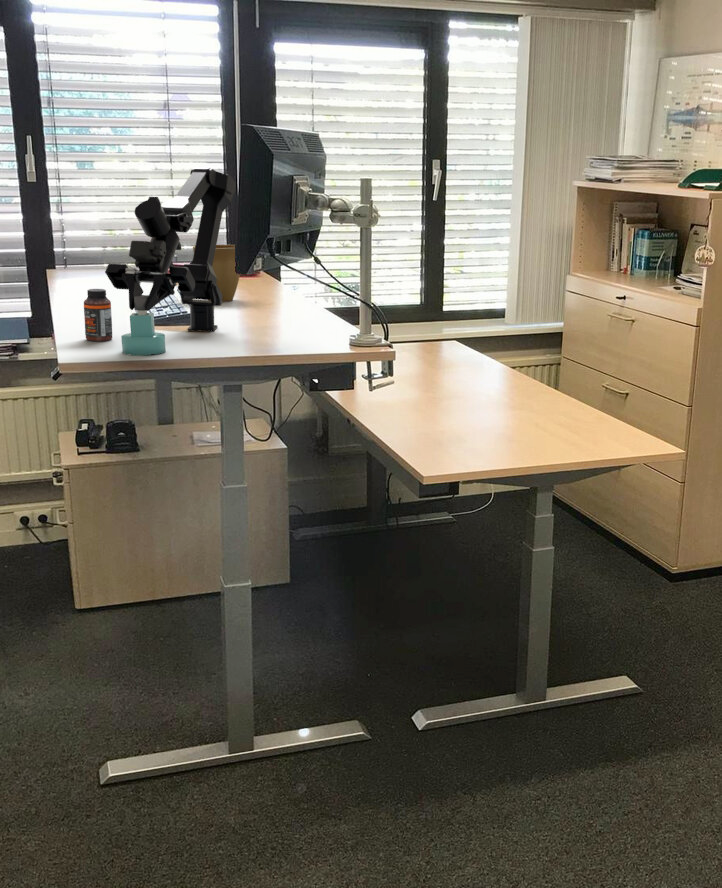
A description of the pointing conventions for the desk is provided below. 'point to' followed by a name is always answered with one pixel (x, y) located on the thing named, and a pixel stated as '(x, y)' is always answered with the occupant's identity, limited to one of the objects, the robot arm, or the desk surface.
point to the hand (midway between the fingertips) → (138, 309)
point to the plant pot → (225, 271)
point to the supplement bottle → (97, 316)
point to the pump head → (140, 304)
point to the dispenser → (143, 336)
